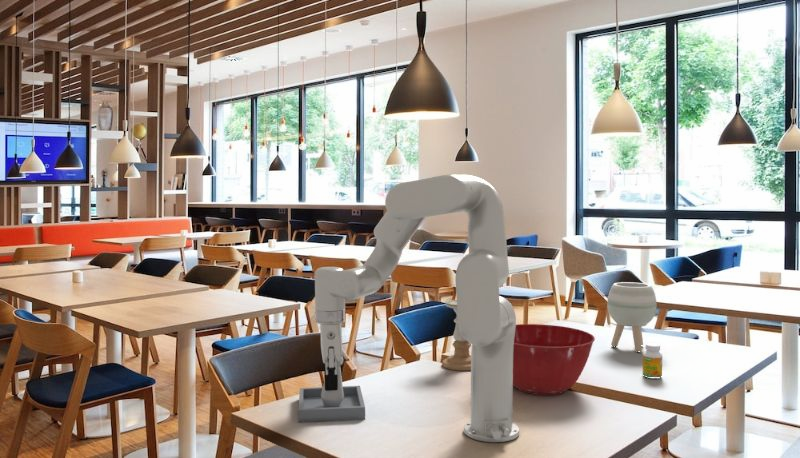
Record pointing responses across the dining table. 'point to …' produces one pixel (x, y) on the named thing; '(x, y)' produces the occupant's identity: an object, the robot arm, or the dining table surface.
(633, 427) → the dining table surface
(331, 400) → the salt shaker
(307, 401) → the tray
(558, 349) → the mixing bowl
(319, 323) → the robot arm
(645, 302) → the planter
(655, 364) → the supplement bottle
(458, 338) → the candle holder
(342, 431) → the dining table surface
